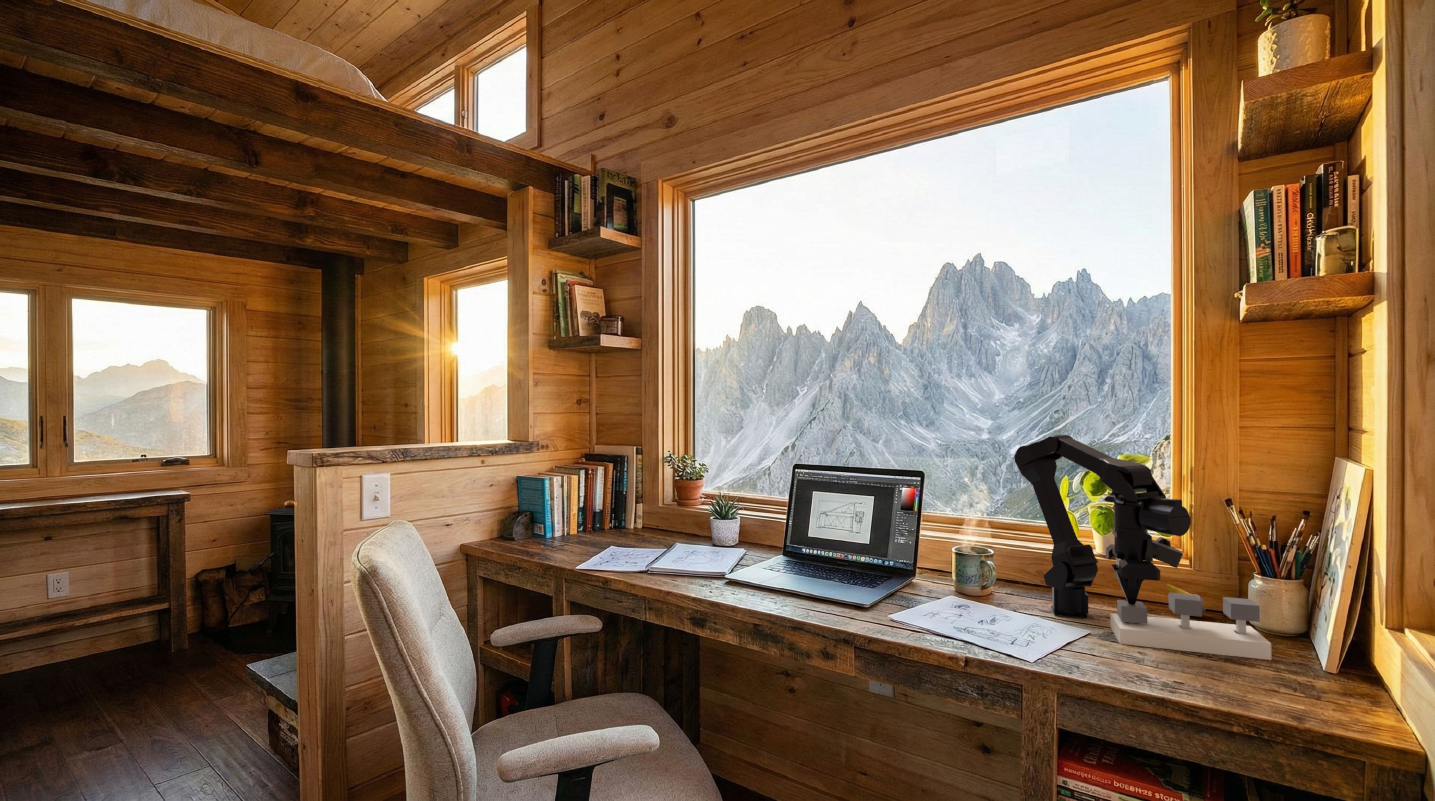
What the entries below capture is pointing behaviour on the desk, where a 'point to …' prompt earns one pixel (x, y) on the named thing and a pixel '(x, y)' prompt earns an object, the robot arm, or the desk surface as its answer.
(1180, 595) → the button middle
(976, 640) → the desk surface
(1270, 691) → the desk surface
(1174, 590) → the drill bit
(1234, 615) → the button
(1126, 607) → the button
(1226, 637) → the console
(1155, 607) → the desk surface
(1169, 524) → the robot arm
